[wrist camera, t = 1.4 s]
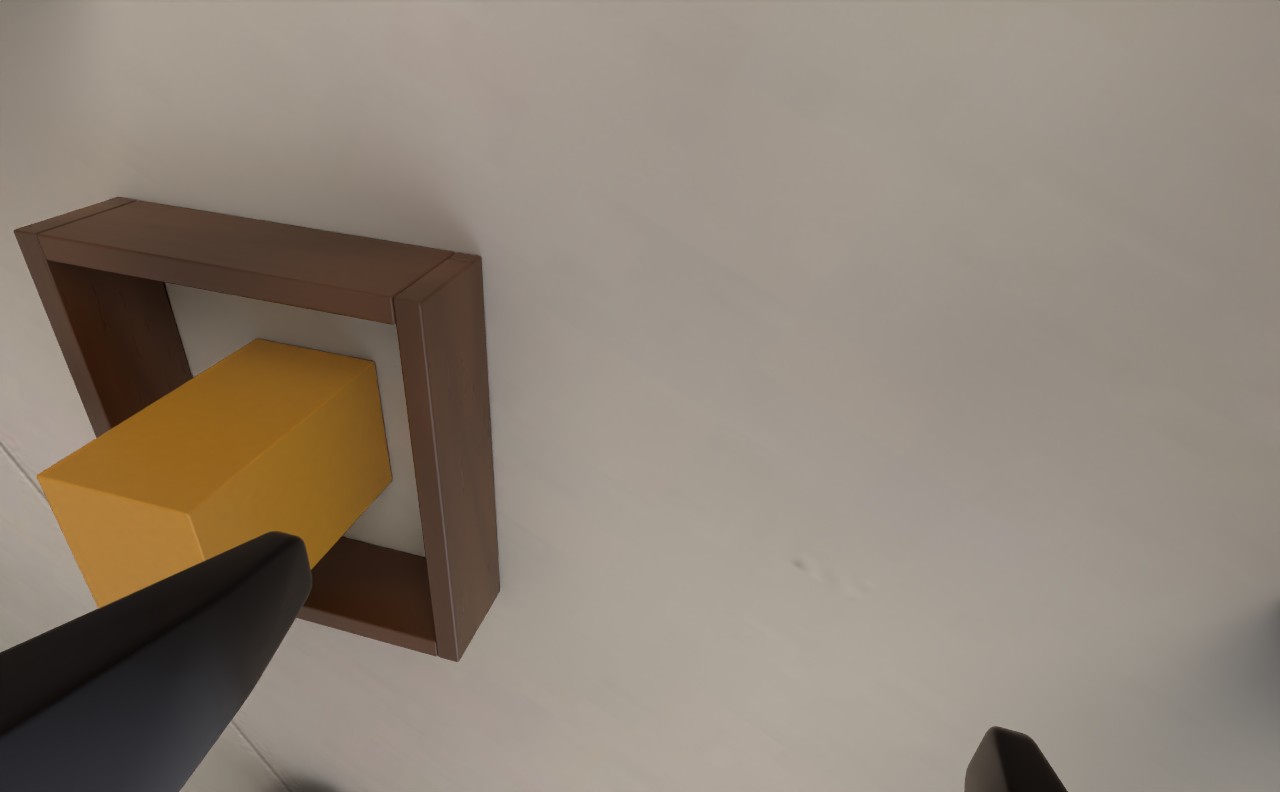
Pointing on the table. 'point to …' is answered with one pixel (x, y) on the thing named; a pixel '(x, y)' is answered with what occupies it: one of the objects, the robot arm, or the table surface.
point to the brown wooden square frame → (324, 281)
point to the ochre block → (224, 467)
